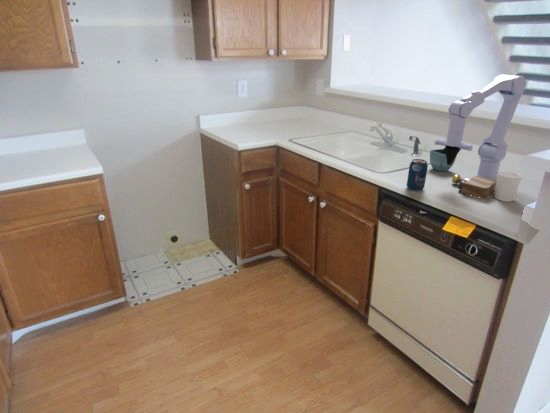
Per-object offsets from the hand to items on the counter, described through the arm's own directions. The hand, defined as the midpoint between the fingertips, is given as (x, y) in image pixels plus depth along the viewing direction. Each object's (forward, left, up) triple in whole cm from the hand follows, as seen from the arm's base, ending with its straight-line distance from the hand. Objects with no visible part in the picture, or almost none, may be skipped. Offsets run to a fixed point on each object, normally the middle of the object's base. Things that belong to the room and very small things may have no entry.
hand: (449, 164), depth 159 cm
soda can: (+13, -7, -10) cm, 18 cm away
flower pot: (-20, -11, -10) cm, 25 cm away
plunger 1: (-5, +6, -9) cm, 12 cm away
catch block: (-2, +13, -9) cm, 16 cm away
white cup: (-2, +22, -10) cm, 24 cm away
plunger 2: (+1, +11, -9) cm, 14 cm away
